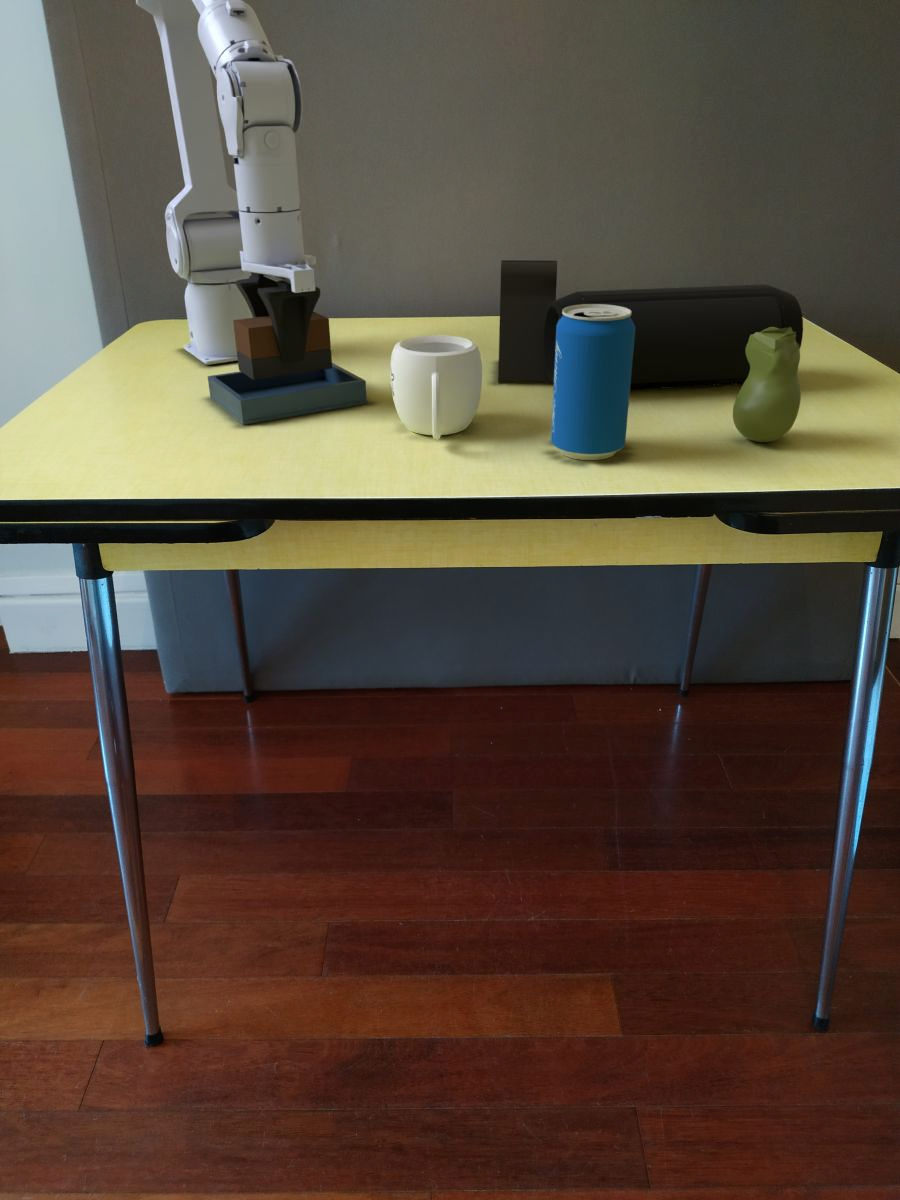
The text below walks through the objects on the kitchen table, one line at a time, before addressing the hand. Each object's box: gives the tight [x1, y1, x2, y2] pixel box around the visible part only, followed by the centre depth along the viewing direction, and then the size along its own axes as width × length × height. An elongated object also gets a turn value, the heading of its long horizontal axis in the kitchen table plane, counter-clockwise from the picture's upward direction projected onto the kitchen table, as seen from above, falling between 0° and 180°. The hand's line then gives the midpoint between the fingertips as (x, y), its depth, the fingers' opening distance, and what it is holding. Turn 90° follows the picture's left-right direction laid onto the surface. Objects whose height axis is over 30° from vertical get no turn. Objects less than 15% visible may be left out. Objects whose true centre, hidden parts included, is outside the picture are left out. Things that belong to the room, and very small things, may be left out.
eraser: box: [233, 311, 333, 380], centre depth 91 cm, size 4×8×5 cm, turn 121°
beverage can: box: [550, 304, 635, 461], centre depth 77 cm, size 6×6×12 cm
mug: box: [389, 334, 483, 441], centre depth 83 cm, size 12×8×8 cm
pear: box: [732, 327, 802, 443], centre depth 80 cm, size 6×5×10 cm
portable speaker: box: [543, 284, 804, 391], centre depth 96 cm, size 26×10×10 cm, turn 99°
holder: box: [207, 362, 368, 426], centre depth 93 cm, size 10×13×2 cm
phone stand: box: [497, 259, 558, 385], centre depth 100 cm, size 9×6×12 cm, turn 175°
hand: (283, 355), depth 92 cm, fingers closed on eraser, 4 cm apart
